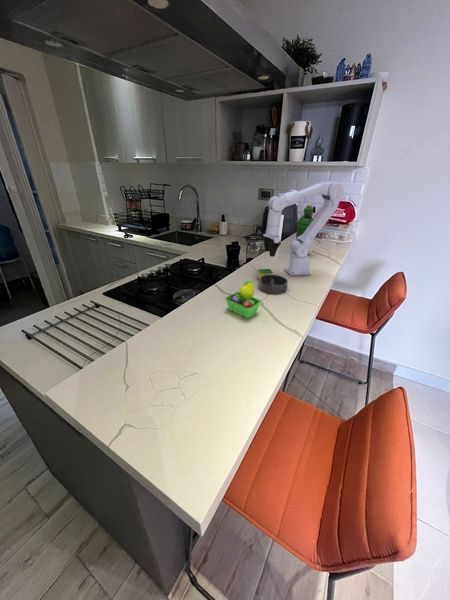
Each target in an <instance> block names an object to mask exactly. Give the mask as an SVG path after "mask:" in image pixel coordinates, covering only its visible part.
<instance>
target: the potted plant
mask: <svg viewBox="0 0 450 600" xmlns="http://www.w3.org/2000/svg"><path fill="white" fill-rule="evenodd" d="M313 214H314V207H313V205H312V204H306V207H304V209H303V216H302V217H300V218H299V219H298V220H297V221H296V222H297V223H296V232H295V240H296V239H297V237H298V236H300V235H302V234H303V233H304V232H305V230H306V229H307V228H308V226H309V225H310V224H311V222H312V221H313V220H314V218H313V217H312V216H313ZM310 252H311V249H310V250H309V253H308V256H309V255H310Z"/></svg>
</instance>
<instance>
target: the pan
mask: <svg viewBox="0 0 450 600" xmlns="http://www.w3.org/2000/svg"><path fill="white" fill-rule="evenodd" d="M258 280H259V281H258V287H259V289H260V291H262V292H264V293H265V294H273V295H275V294H276V295H278V294H283V293H285V292H286V291H287V290H288V285H289V284H288V283H289V281H288V279H287V278H286V277H284V276H283V275H282V276H281V275H279V274H272V275H264V276H262V277H260V279H259V278H258Z"/></svg>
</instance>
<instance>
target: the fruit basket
mask: <svg viewBox="0 0 450 600" xmlns="http://www.w3.org/2000/svg"><path fill="white" fill-rule="evenodd" d="M238 290H239V291H237V292H235V293H232V294H230V295H228V296H226V297H225V300H226V303H227V307H228V309H229V311H231V312H233V313H235V314H238V315H239V316H242V317H244V318H246V319H249V318H250V317H252V316H254V315H255V314H257V311H258V308H259V307H260V305H261V302H262V301H261V300H260V299H257V298H255V297H254V294H255V284H254V283H253V281H251V280H246V281H245V282H244V283H243V285H242V286H241V287H240V288H239V289H238Z"/></svg>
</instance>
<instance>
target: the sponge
mask: <svg viewBox="0 0 450 600" xmlns="http://www.w3.org/2000/svg"><path fill="white" fill-rule="evenodd" d="M264 275H273V271H272V269H271V268H259V269H258V276H257V278H258V280H259V279H260V277H262V276H264Z"/></svg>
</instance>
